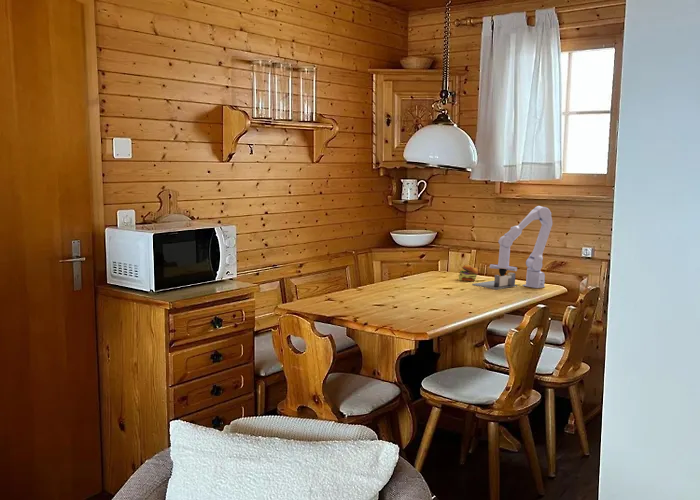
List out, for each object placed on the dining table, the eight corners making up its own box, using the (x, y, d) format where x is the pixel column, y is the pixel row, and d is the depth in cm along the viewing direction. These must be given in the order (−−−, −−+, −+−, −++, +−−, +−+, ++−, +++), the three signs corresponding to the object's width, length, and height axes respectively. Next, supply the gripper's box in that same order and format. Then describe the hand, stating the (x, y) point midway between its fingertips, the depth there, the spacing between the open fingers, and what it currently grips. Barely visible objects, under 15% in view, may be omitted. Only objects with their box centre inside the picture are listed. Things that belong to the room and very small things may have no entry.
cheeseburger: (453, 279, 398) (457, 262, 398) (468, 282, 403) (472, 265, 403) (463, 281, 389) (468, 264, 389) (478, 285, 394) (483, 268, 394)
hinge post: (499, 287, 375) (500, 275, 374) (496, 287, 373) (497, 275, 372) (495, 286, 377) (496, 274, 376) (493, 286, 375) (493, 275, 374)
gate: (499, 286, 375) (500, 275, 374) (496, 285, 377) (497, 274, 376) (511, 284, 382) (511, 273, 381) (508, 284, 383) (508, 273, 382)
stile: (517, 285, 382) (518, 273, 381) (510, 286, 378) (511, 274, 377) (510, 283, 386) (510, 272, 385) (503, 285, 382) (504, 273, 381)
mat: (517, 286, 383) (517, 285, 383) (496, 289, 370) (496, 288, 370) (493, 281, 395) (493, 280, 395) (472, 285, 382) (472, 283, 382)
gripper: (518, 258, 381) (516, 283, 383) (492, 255, 387) (490, 279, 388) (516, 260, 374) (514, 285, 376) (489, 257, 380) (487, 281, 382)
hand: (502, 282), depth 382 cm, fingers closed, pressing on gate
